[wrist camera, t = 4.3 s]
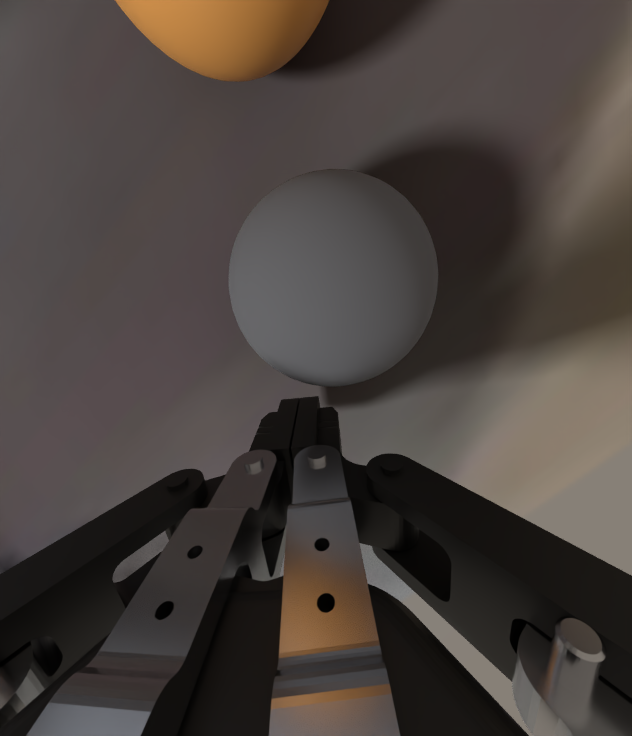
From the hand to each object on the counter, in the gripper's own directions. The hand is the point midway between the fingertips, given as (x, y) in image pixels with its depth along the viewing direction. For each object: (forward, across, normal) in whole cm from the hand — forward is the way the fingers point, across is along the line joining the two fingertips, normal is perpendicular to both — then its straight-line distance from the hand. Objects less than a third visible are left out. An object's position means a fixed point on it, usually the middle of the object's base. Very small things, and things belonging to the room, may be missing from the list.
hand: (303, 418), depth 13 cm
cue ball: (-2, -2, -5) cm, 6 cm away
